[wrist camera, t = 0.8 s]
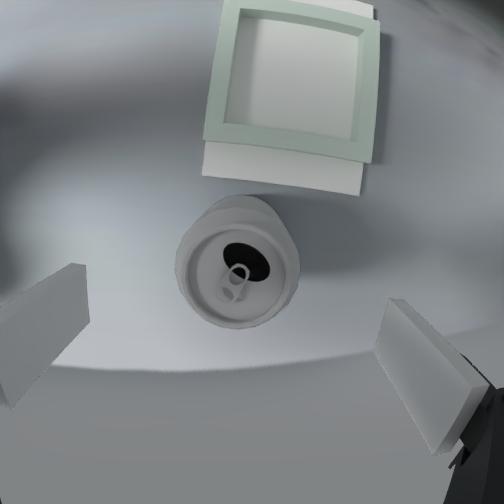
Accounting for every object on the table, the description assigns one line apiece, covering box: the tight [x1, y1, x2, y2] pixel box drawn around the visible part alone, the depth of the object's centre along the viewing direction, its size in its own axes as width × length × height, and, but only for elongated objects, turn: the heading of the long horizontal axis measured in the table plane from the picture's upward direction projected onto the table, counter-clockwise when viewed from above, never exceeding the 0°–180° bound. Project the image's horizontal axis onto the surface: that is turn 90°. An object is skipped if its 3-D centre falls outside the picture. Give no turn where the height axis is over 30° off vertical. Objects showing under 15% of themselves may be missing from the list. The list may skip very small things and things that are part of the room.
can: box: [175, 195, 301, 329], centre depth 23 cm, size 8×8×12 cm
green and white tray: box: [202, 0, 380, 196], centre depth 24 cm, size 14×20×2 cm
